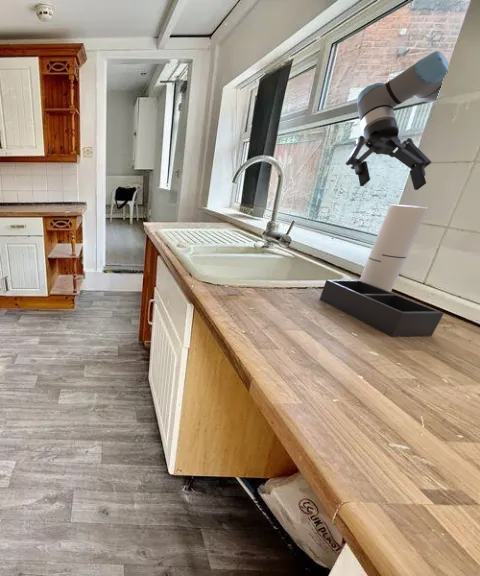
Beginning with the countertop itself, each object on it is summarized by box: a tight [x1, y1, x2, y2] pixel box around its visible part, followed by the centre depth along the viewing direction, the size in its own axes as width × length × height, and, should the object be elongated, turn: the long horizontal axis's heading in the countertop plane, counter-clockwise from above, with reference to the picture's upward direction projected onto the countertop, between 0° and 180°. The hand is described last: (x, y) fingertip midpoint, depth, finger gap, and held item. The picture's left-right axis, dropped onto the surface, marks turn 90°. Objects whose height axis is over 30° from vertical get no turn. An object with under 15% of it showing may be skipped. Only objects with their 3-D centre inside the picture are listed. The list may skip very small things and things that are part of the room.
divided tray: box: [319, 279, 445, 338], centre depth 73 cm, size 10×19×6 cm, turn 7°
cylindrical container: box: [359, 203, 430, 292], centre depth 81 cm, size 7×7×25 cm
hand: (392, 184), depth 84 cm, fingers open, 13 cm apart
